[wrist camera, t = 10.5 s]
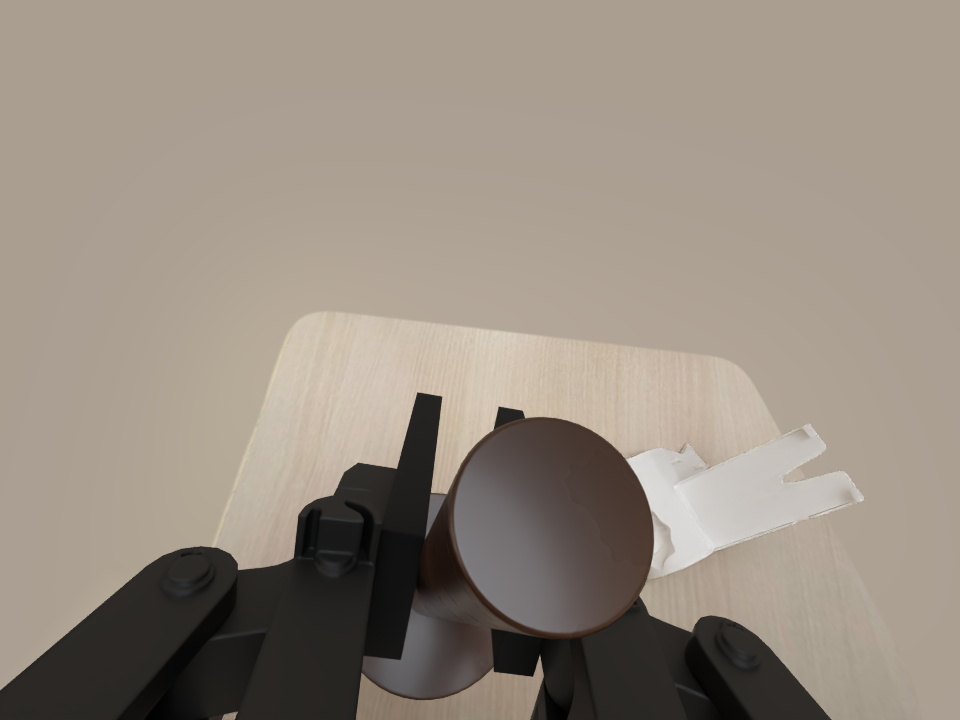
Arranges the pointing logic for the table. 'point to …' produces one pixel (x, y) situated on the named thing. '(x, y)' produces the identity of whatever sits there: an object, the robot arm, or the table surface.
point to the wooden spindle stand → (521, 554)
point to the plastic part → (733, 496)
